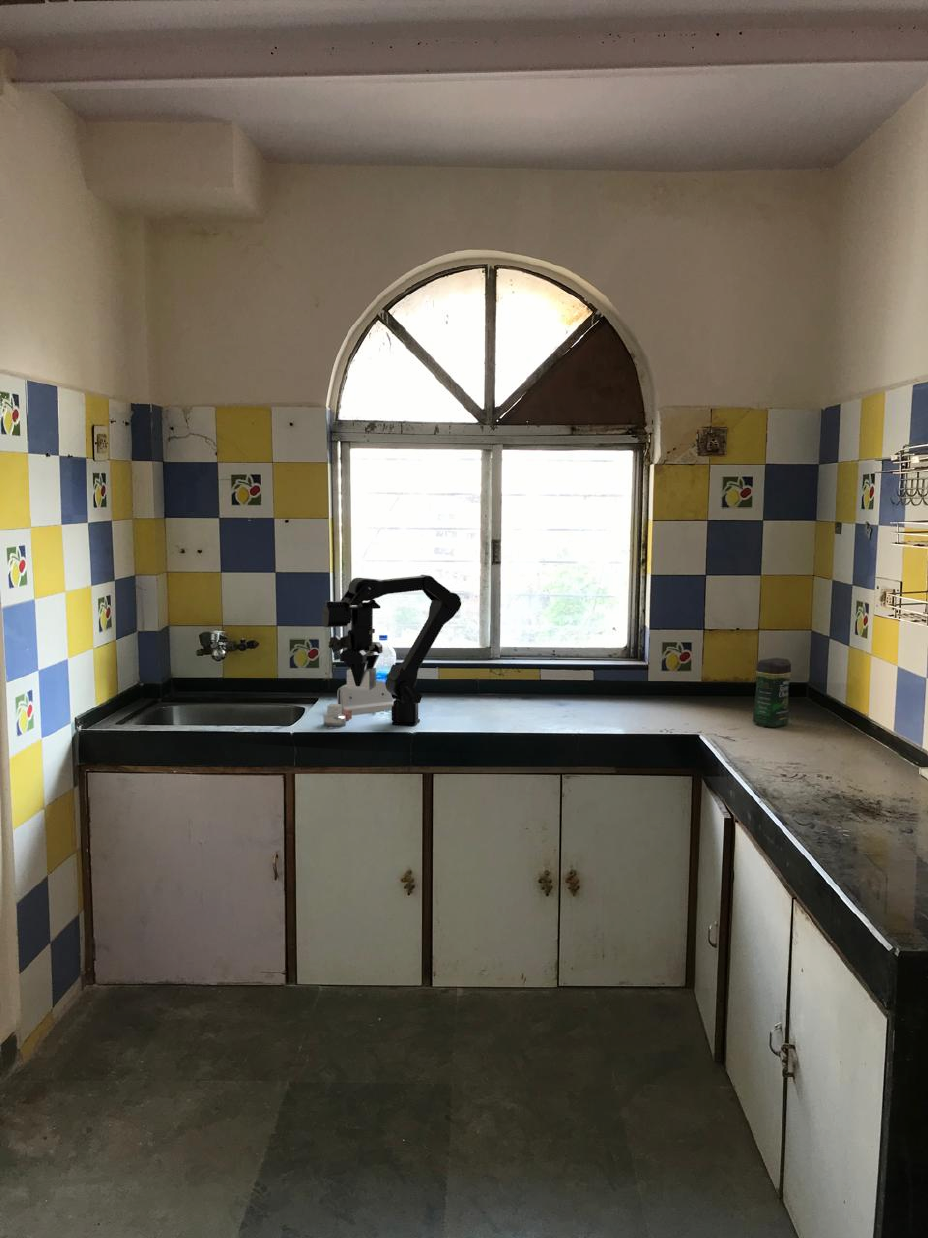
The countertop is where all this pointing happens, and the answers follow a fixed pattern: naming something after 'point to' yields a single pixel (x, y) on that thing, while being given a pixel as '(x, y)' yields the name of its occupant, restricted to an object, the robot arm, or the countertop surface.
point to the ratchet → (336, 716)
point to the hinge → (365, 699)
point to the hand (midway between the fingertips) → (361, 683)
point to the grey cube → (367, 680)
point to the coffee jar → (772, 692)
